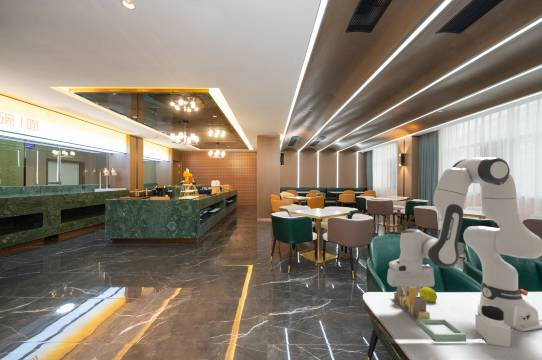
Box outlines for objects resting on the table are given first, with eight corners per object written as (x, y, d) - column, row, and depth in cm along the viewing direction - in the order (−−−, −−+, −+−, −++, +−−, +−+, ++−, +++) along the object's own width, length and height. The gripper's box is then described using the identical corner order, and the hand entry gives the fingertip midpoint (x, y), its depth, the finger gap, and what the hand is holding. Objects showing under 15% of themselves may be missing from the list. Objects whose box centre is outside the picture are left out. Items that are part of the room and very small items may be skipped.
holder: (389, 301, 115) (390, 282, 115) (405, 301, 115) (405, 282, 115) (415, 324, 96) (415, 301, 96) (434, 324, 96) (434, 301, 96)
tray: (444, 325, 96) (444, 318, 96) (466, 341, 86) (466, 334, 86) (416, 325, 95) (416, 318, 95) (434, 341, 85) (434, 334, 85)
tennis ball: (416, 298, 118) (416, 284, 118) (428, 298, 119) (428, 284, 119) (427, 306, 111) (427, 291, 111) (440, 305, 112) (440, 290, 112)
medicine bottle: (511, 347, 83) (511, 313, 83) (487, 344, 84) (488, 311, 85) (496, 335, 90) (496, 303, 90) (474, 332, 91) (475, 301, 92)
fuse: (411, 303, 107) (411, 282, 107) (416, 307, 104) (416, 285, 104) (405, 303, 107) (405, 282, 107) (409, 307, 104) (409, 285, 104)
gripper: (428, 262, 109) (428, 292, 109) (385, 262, 109) (385, 292, 108) (438, 267, 103) (438, 298, 103) (393, 267, 102) (392, 299, 102)
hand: (410, 295), depth 106 cm, fingers closed on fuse, 3 cm apart
